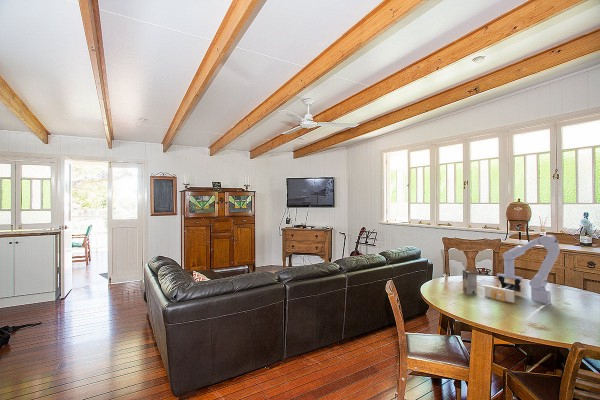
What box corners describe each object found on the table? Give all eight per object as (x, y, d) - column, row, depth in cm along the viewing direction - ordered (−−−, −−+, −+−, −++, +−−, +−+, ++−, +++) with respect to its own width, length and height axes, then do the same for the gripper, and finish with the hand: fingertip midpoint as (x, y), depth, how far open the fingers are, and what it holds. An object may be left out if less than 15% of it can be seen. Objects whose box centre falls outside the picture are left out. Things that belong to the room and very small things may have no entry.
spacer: (504, 303, 184) (504, 292, 184) (503, 303, 183) (503, 292, 184) (492, 300, 190) (492, 289, 190) (491, 300, 189) (491, 290, 189)
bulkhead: (514, 304, 182) (514, 290, 182) (513, 305, 181) (513, 291, 181) (486, 297, 195) (486, 285, 195) (484, 298, 194) (484, 285, 194)
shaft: (521, 291, 196) (520, 285, 196) (511, 296, 186) (511, 289, 186) (502, 287, 205) (502, 281, 205) (492, 292, 195) (492, 286, 195)
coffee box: (462, 292, 208) (462, 269, 208) (472, 292, 206) (471, 270, 206) (467, 296, 199) (466, 272, 199) (477, 296, 197) (477, 273, 197)
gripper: (494, 268, 202) (495, 287, 202) (519, 271, 190) (520, 292, 190) (498, 266, 206) (499, 285, 206) (523, 270, 195) (524, 290, 194)
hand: (509, 289), depth 198 cm, fingers open, 7 cm apart
